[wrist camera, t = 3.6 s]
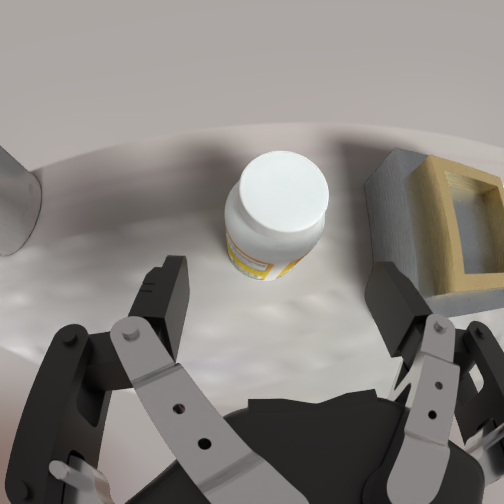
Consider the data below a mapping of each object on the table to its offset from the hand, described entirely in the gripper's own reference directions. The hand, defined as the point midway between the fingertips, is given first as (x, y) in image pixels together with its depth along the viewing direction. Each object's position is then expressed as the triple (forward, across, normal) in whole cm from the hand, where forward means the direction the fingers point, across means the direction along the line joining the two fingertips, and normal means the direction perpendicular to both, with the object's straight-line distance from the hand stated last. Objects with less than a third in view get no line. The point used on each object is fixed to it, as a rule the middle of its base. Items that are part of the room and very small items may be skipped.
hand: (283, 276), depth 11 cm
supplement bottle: (+9, 0, +4) cm, 10 cm away
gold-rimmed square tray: (+9, -15, +4) cm, 18 cm away
